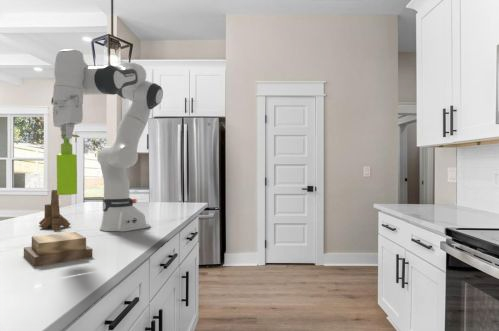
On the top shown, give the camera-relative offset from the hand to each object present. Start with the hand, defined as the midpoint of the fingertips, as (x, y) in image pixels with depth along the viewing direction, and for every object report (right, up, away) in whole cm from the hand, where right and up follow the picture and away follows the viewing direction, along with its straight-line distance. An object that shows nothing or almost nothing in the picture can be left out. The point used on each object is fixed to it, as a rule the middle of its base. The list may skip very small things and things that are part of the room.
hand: (66, 138), depth 114 cm
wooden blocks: (-33, -39, +50) cm, 71 cm away
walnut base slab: (-1, -39, -4) cm, 39 cm away
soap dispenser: (0, -19, +1) cm, 19 cm away
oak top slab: (0, -35, -4) cm, 36 cm away
